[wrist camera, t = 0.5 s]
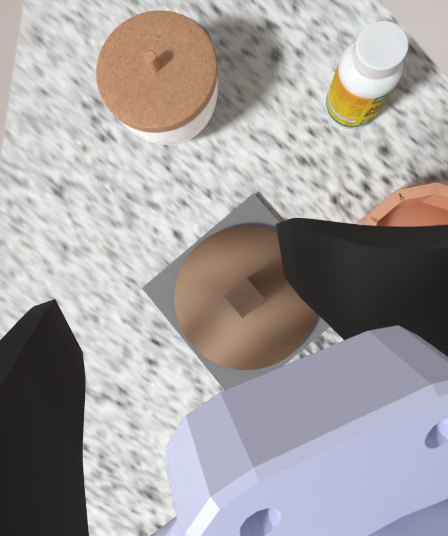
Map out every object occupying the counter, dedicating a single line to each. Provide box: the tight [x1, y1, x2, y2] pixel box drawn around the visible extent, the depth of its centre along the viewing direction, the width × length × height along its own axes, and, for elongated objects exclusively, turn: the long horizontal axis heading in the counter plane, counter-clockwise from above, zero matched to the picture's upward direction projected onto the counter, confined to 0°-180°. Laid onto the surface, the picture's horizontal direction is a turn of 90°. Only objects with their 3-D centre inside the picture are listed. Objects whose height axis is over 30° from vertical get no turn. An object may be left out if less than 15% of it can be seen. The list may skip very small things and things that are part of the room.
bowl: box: [358, 182, 448, 227], centre depth 35 cm, size 13×13×4 cm
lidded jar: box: [96, 11, 218, 145], centre depth 35 cm, size 11×11×9 cm
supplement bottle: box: [326, 21, 408, 129], centre depth 34 cm, size 5×5×10 cm
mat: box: [142, 193, 330, 390], centre depth 38 cm, size 15×15×1 cm
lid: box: [174, 226, 317, 370], centre depth 35 cm, size 14×14×4 cm
